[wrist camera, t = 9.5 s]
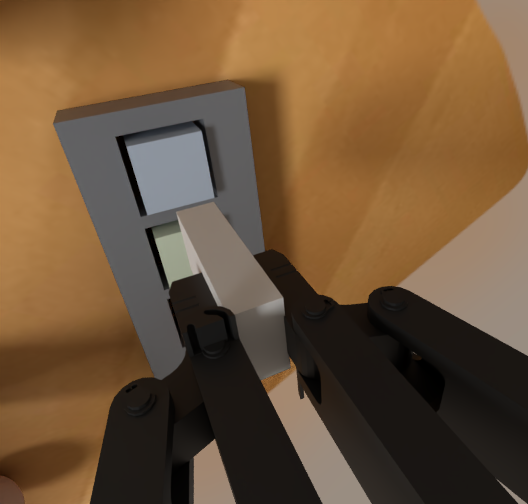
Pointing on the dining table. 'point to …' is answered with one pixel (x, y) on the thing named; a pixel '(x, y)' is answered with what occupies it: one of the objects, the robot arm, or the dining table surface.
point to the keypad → (136, 219)
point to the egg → (10, 492)
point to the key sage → (172, 251)
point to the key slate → (170, 166)
